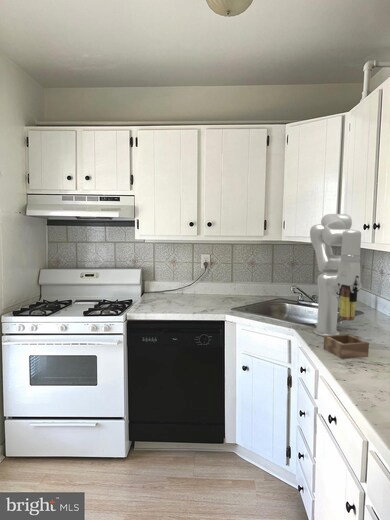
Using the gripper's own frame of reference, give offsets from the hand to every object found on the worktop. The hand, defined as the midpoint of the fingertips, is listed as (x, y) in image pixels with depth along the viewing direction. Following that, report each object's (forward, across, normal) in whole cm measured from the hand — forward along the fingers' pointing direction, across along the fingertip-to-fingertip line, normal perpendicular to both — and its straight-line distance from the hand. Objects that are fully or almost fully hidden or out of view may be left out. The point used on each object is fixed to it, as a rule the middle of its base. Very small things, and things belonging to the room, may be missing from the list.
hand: (347, 299), depth 161 cm
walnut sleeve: (+24, +1, 0) cm, 24 cm away
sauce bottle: (+9, 0, 0) cm, 9 cm away
